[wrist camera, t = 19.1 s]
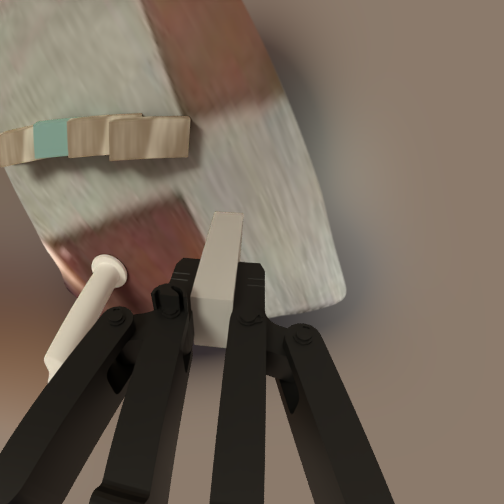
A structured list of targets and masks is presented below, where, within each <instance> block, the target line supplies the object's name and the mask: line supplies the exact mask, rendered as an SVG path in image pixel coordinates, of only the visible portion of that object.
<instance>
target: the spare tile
mask: <svg viewBox="0 0 504 504" xmlns="http://www.w3.org/2000/svg"><path fill="white" fill-rule="evenodd" d="M88 117H90V116H88ZM75 118H80V117H75ZM69 119H71V118H65V119H55V120H47V121H39V122H37V123H35V124H34V125H33V137H34V154H35V159H40V158H49V157H59V156H68V143H67V121H68V120H69Z"/></svg>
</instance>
